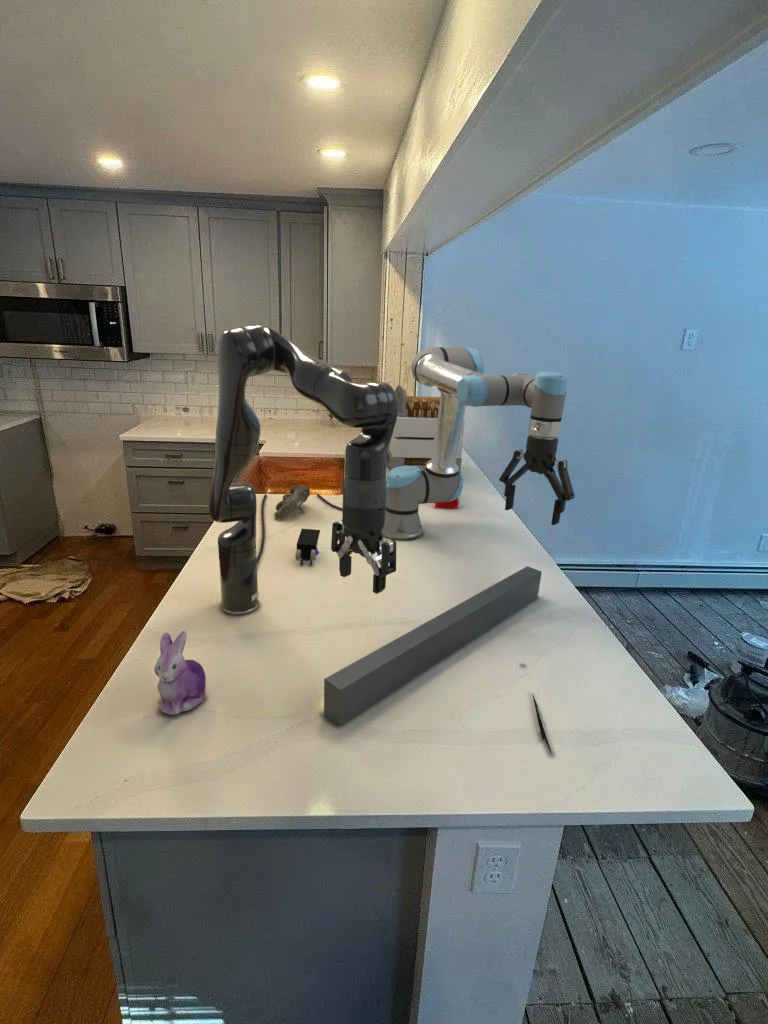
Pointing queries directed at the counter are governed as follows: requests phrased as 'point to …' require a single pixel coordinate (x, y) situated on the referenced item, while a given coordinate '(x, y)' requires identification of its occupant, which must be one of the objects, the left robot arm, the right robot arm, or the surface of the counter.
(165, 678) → the figurine
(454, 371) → the right robot arm
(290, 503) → the fossil
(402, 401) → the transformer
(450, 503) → the toy
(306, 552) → the figurine character
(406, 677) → the beam
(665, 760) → the counter surface
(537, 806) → the counter surface
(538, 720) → the feather
